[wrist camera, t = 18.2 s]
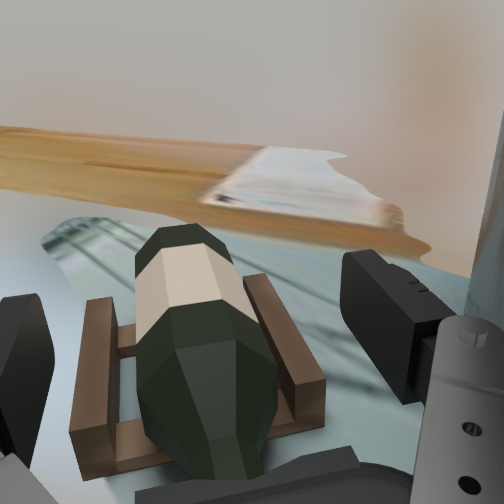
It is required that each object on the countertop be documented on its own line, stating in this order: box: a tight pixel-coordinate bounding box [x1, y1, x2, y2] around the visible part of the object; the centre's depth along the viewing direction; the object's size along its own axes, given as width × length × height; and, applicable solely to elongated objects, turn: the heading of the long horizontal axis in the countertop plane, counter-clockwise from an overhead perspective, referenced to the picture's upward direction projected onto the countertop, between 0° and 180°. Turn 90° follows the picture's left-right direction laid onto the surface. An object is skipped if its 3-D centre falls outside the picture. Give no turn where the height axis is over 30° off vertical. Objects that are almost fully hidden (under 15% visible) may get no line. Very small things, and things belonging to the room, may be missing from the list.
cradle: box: [69, 273, 326, 481], centre depth 34 cm, size 15×14×4 cm
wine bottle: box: [135, 223, 278, 480], centre depth 27 cm, size 8×8×30 cm
